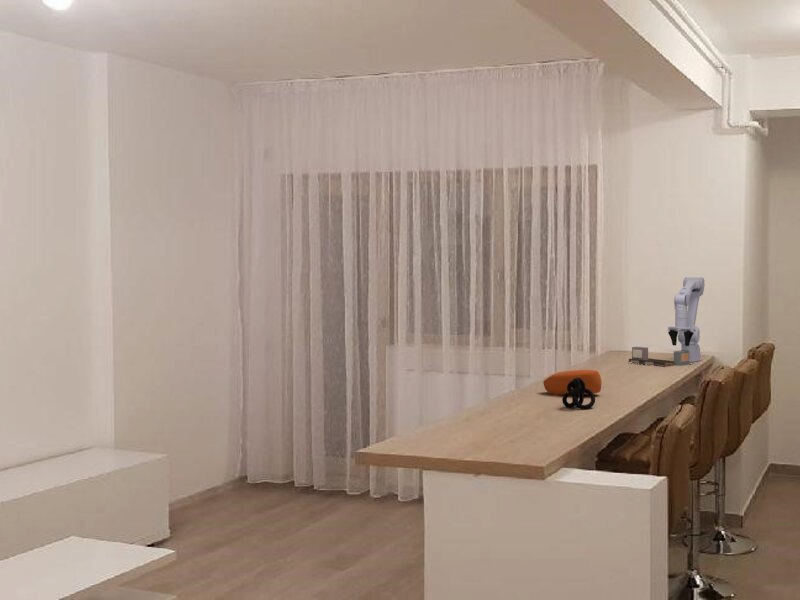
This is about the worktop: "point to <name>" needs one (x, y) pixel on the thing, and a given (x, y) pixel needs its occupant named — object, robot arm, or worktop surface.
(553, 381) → the orange rounded block
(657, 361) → the shelf ledge
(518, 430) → the worktop surface
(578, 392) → the squiggle
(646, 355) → the box
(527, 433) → the worktop surface
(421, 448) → the worktop surface
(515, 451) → the worktop surface
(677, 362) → the box
